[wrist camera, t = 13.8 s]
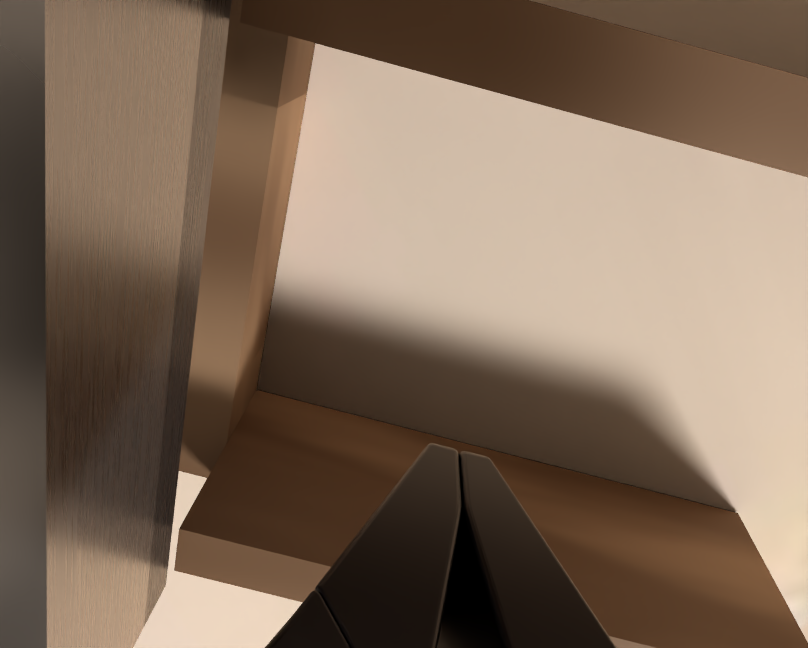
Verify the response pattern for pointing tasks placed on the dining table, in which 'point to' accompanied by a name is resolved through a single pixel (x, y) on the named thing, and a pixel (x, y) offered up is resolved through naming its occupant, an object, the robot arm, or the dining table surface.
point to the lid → (98, 301)
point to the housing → (399, 447)
